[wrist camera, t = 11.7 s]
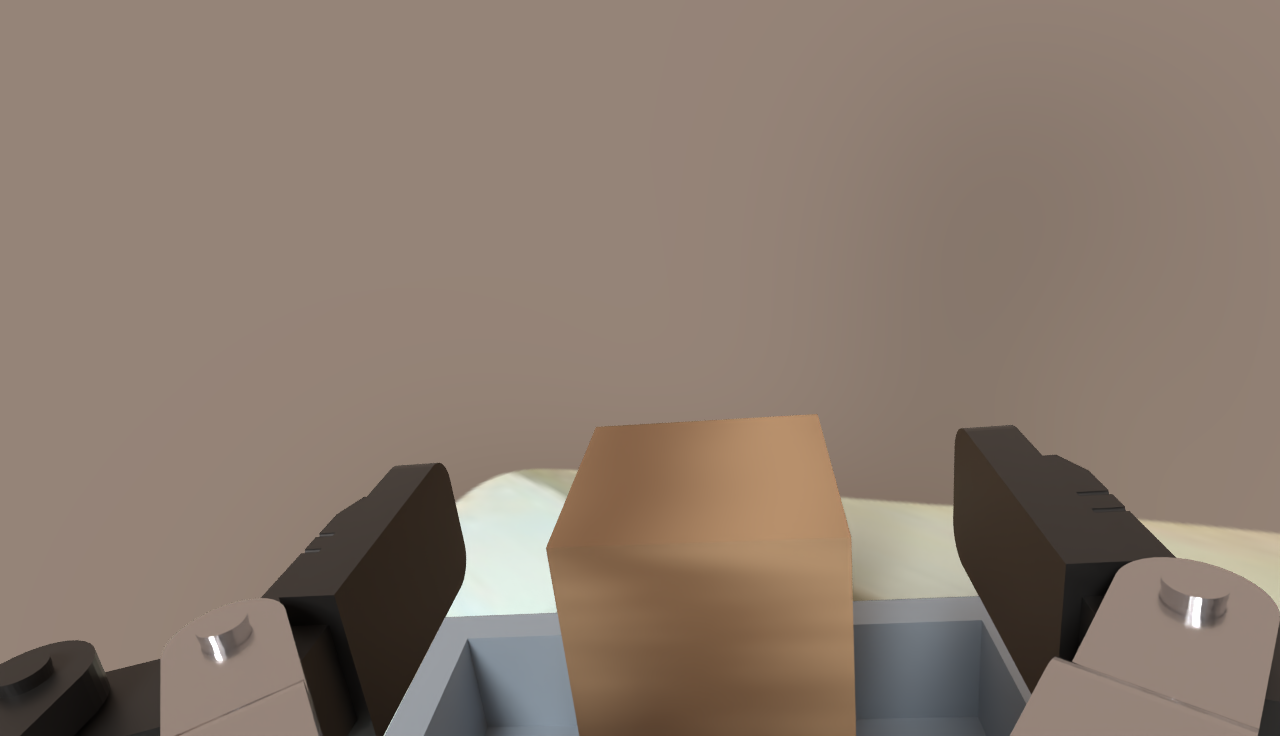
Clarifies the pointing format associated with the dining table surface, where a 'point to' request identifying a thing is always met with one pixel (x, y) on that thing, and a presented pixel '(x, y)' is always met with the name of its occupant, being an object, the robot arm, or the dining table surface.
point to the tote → (883, 663)
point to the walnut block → (707, 582)
